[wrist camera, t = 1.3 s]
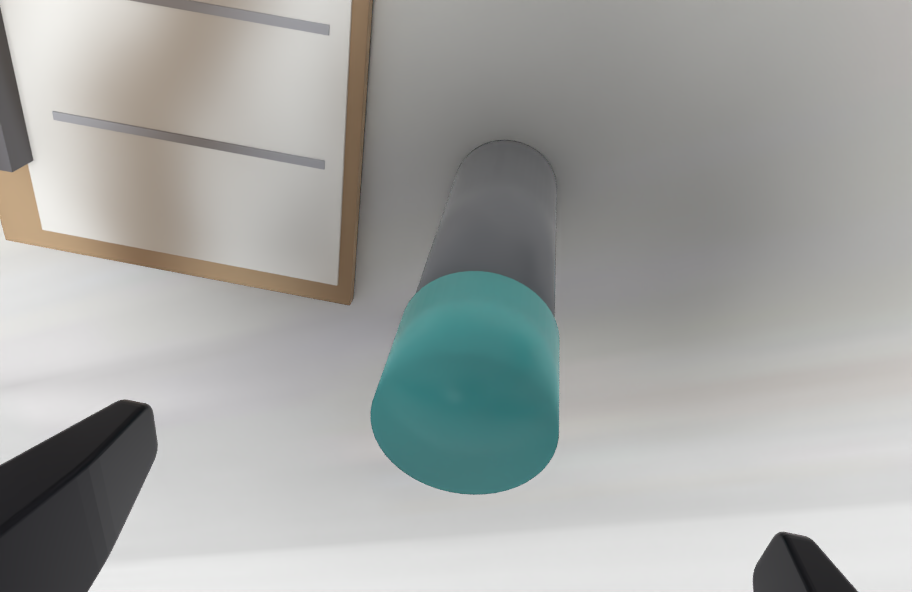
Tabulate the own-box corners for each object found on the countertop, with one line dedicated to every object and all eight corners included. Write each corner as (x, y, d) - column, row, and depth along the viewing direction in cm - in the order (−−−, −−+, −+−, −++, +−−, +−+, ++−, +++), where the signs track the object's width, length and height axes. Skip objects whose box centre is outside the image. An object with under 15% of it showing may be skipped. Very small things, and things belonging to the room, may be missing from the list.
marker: (571, 147, 18) (579, 374, 10) (547, 247, 19) (537, 509, 12) (458, 127, 18) (377, 336, 10) (444, 227, 20) (365, 474, 12)
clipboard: (383, -161, 15) (367, -163, 14) (353, 298, 21) (340, 323, 20) (-105, -242, 15) (-160, -250, 14) (14, 234, 22) (-18, 255, 21)
